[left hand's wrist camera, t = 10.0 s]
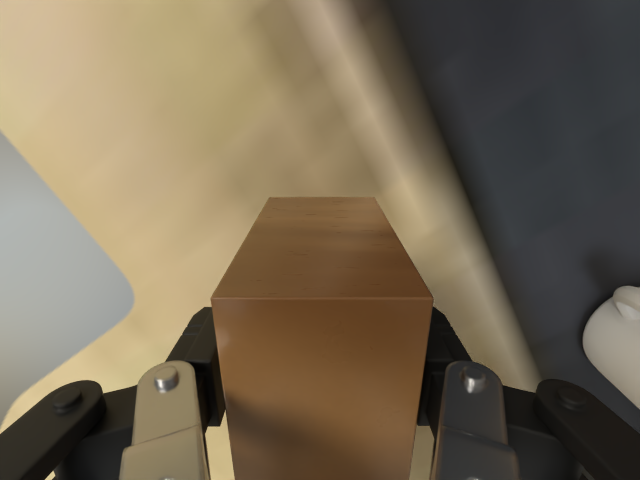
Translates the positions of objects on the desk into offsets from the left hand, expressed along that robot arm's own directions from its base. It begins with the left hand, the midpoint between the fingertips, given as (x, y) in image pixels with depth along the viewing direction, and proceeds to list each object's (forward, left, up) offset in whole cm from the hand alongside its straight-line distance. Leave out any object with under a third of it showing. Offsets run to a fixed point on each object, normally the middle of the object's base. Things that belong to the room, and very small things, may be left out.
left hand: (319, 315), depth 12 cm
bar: (+8, +4, -4) cm, 10 cm away
